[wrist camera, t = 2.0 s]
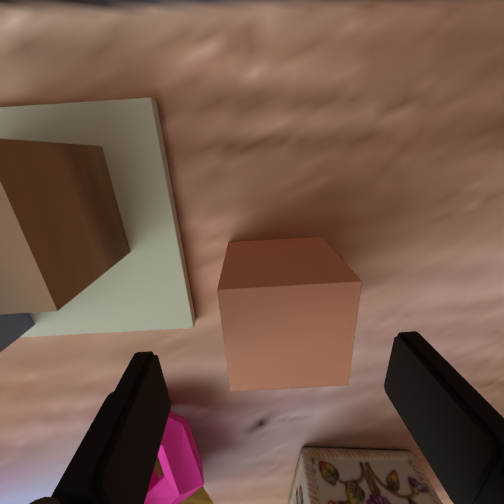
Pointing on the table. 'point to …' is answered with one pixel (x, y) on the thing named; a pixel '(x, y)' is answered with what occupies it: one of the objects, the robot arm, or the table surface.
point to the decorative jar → (360, 478)
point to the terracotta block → (287, 314)
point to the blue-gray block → (13, 327)
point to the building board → (132, 214)
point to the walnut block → (54, 223)
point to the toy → (177, 467)
